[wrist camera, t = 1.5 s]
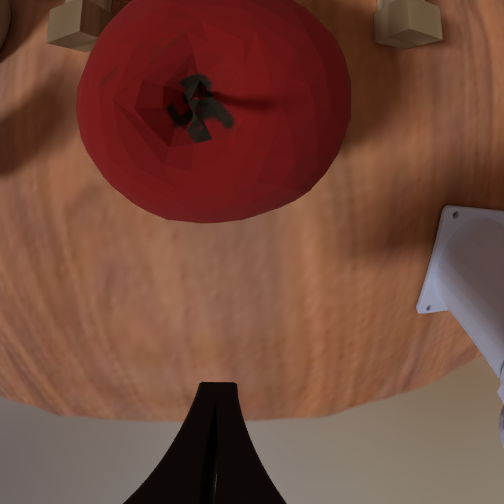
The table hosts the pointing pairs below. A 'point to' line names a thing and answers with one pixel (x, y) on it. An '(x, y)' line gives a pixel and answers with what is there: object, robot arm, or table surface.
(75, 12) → the corral
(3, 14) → the plastic bottle
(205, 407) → the robot arm
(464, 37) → the table surface
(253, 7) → the apple
